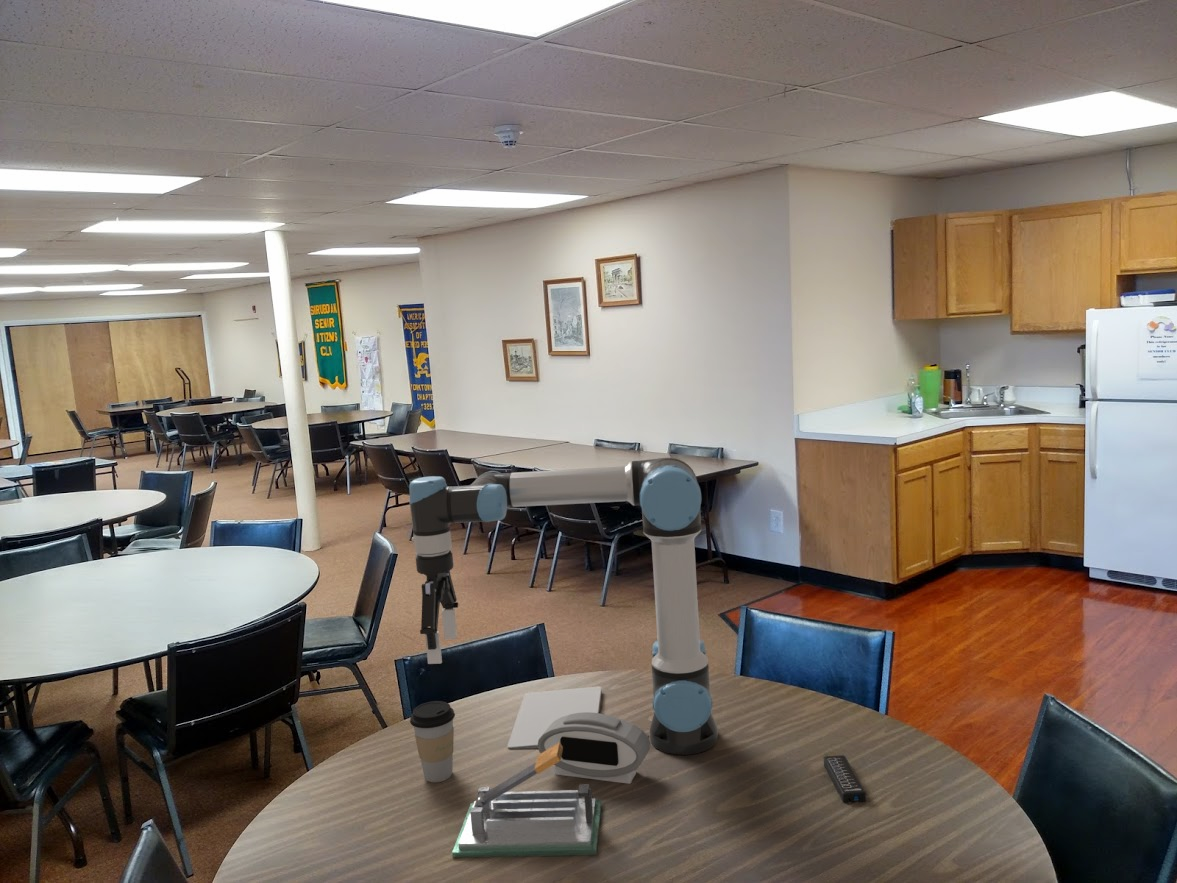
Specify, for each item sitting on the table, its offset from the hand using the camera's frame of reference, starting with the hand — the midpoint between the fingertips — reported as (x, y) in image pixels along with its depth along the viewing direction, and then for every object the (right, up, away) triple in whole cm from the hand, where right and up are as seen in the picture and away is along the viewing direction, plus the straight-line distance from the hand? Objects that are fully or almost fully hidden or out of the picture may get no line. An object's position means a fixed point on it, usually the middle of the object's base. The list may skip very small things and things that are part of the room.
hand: (443, 650), depth 181 cm
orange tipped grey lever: (+18, -20, -19) cm, 33 cm away
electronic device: (+23, -24, +27) cm, 43 cm away
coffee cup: (-2, -28, +4) cm, 28 cm away
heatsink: (+19, -29, -18) cm, 40 cm away
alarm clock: (+32, -26, +1) cm, 41 cm away
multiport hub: (+81, -25, -9) cm, 85 cm away
